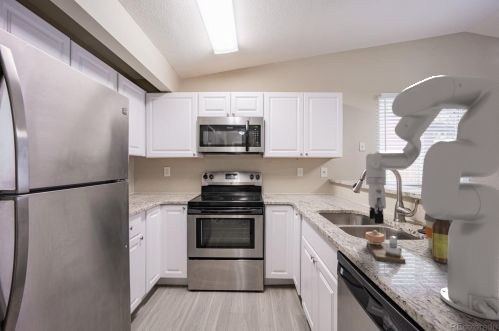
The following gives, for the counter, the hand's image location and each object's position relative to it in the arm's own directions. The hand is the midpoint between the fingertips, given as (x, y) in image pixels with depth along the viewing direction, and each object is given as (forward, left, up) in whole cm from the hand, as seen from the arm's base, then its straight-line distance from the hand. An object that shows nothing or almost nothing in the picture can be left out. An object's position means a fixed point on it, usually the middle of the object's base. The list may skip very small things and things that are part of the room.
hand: (376, 221), depth 99 cm
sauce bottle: (-6, -21, -12) cm, 25 cm away
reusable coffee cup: (+8, -27, -12) cm, 31 cm away
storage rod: (-10, -4, -10) cm, 15 cm away
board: (-5, -2, -12) cm, 13 cm away
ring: (+1, 0, -8) cm, 8 cm away
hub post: (+1, 0, -10) cm, 10 cm away
